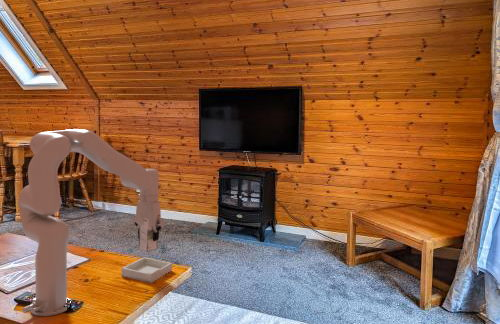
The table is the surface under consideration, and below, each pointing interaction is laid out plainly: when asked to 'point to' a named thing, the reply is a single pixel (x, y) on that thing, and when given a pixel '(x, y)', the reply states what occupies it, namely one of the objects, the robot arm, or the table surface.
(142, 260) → the tray
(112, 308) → the table surface
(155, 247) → the syrup box
